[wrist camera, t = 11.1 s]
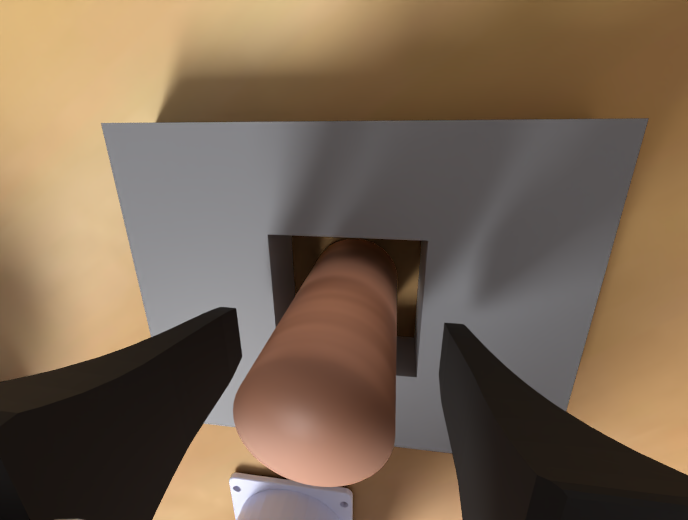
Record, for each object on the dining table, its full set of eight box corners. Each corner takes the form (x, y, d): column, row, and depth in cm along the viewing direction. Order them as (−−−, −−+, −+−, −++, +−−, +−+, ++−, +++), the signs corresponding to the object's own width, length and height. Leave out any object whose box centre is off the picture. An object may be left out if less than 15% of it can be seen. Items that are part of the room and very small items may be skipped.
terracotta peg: (395, 317, 17) (391, 496, 9) (316, 312, 18) (242, 475, 9) (399, 240, 16) (399, 367, 7) (312, 236, 16) (223, 350, 8)
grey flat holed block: (527, 413, 18) (550, 465, 15) (201, 379, 20) (170, 419, 18) (595, 120, 13) (648, 118, 10) (154, 123, 16) (101, 123, 13)
